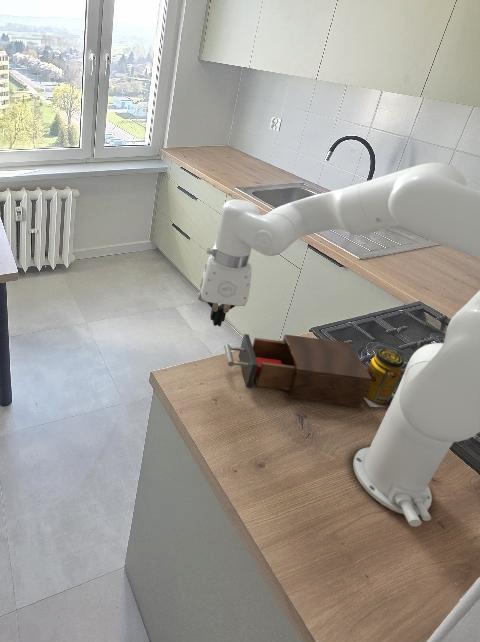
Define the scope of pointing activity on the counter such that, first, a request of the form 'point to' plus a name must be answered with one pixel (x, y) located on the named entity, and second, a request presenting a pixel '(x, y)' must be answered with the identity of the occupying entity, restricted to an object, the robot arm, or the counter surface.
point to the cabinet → (327, 372)
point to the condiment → (383, 378)
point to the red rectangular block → (260, 360)
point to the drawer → (269, 372)
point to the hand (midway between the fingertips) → (216, 322)
